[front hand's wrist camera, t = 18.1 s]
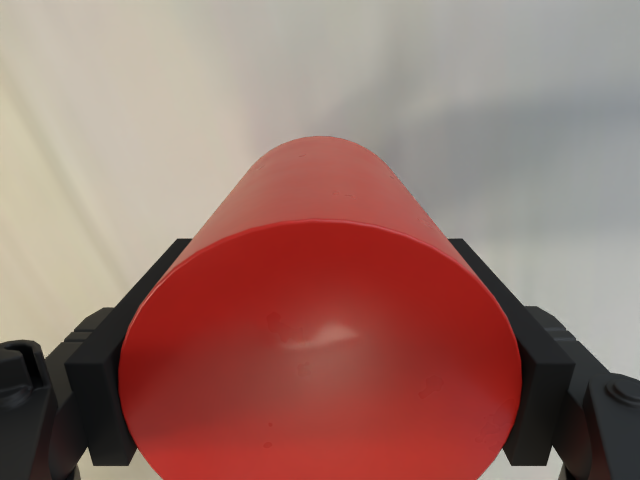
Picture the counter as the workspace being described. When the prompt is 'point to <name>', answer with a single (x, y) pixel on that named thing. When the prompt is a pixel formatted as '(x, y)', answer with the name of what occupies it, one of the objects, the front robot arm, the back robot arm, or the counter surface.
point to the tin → (320, 336)
